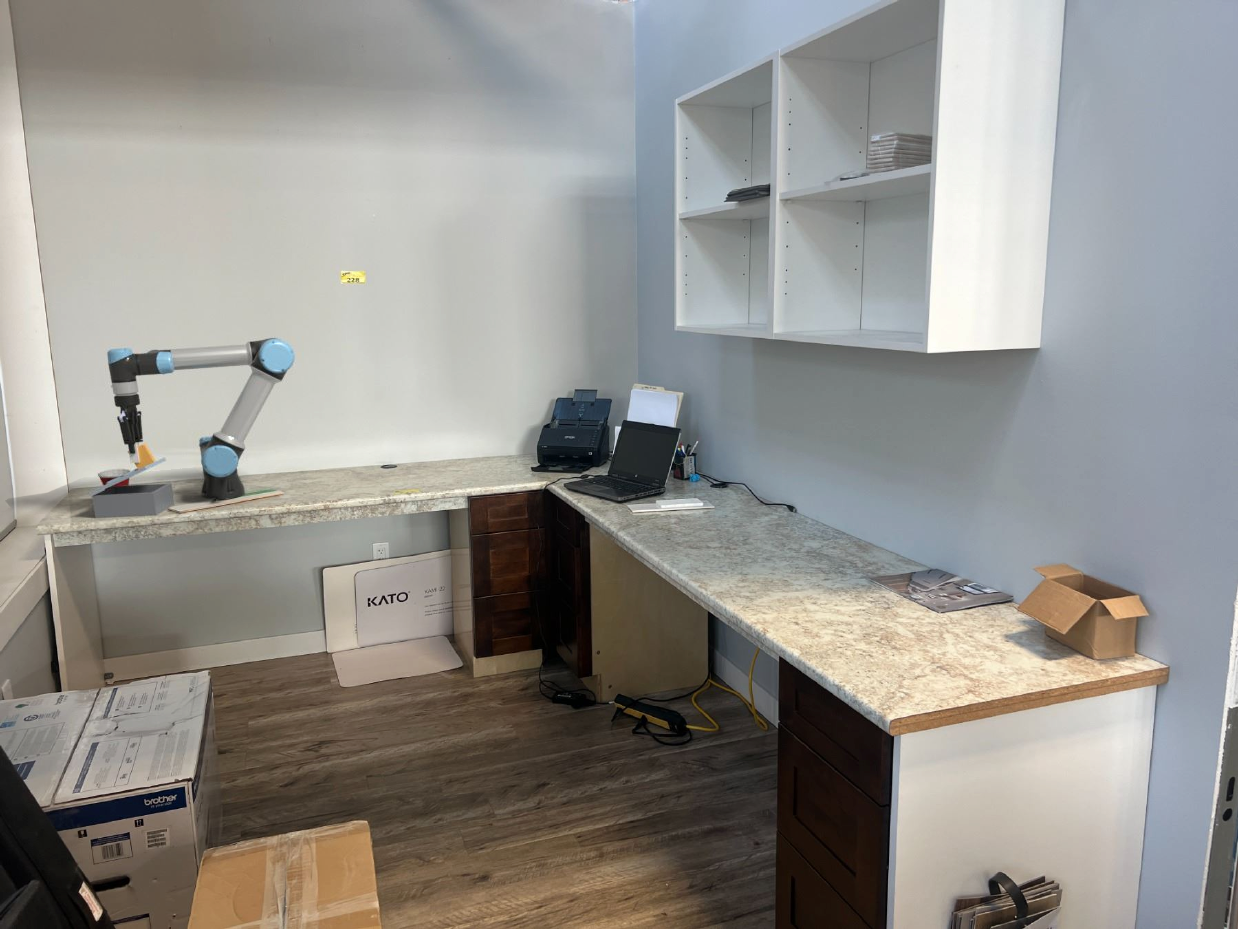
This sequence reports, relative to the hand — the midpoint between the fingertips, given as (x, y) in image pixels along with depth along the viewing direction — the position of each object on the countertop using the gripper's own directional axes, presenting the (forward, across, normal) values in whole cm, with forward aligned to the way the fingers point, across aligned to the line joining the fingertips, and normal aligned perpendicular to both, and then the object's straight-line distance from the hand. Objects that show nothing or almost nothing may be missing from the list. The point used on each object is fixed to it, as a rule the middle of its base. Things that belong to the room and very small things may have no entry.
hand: (136, 461), depth 302 cm
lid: (+6, 0, -4) cm, 7 cm away
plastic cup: (+19, -18, -17) cm, 31 cm away
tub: (+19, 0, -3) cm, 19 cm away
